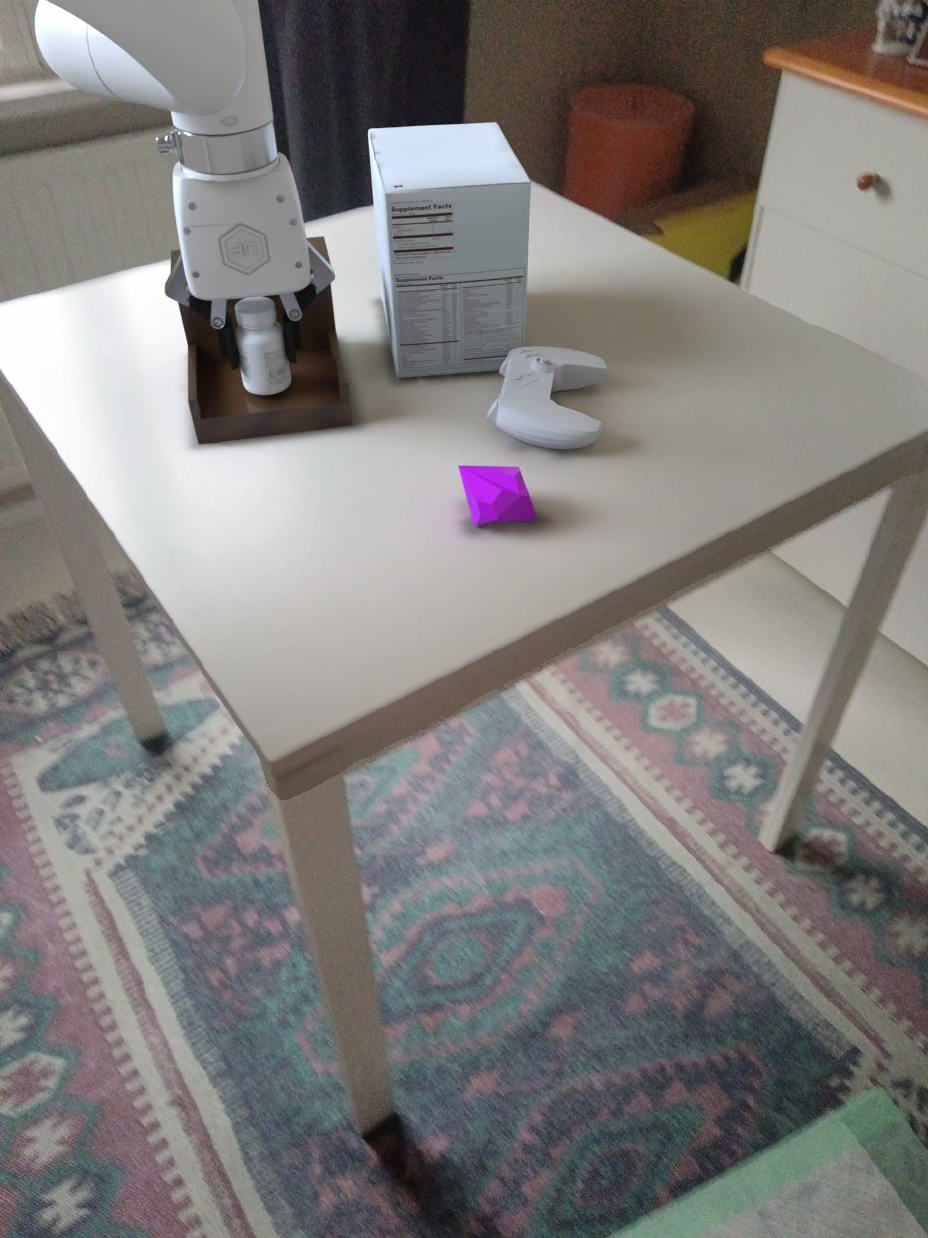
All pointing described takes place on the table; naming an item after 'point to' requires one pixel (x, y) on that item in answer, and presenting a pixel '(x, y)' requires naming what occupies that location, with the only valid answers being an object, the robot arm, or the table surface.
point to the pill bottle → (261, 347)
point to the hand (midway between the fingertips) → (263, 357)
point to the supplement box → (450, 245)
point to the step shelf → (299, 407)
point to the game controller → (546, 396)
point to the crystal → (496, 494)
